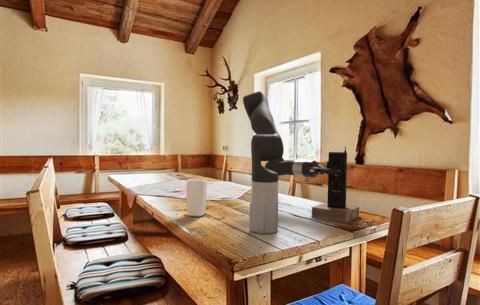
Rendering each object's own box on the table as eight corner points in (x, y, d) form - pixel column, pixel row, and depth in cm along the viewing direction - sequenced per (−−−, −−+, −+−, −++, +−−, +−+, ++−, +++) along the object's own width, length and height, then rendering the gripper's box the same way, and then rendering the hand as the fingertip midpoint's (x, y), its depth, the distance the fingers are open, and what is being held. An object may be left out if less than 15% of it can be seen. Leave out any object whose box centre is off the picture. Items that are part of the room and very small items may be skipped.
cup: (202, 218, 119) (202, 181, 119) (185, 217, 121) (185, 180, 120) (207, 213, 126) (207, 179, 126) (191, 213, 128) (191, 178, 127)
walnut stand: (345, 223, 113) (345, 212, 113) (311, 216, 123) (311, 207, 122) (358, 216, 124) (359, 206, 123) (327, 211, 133) (327, 202, 133)
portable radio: (324, 207, 123) (325, 146, 122) (327, 204, 128) (328, 146, 127) (344, 209, 119) (345, 146, 118) (346, 206, 125) (347, 146, 124)
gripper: (296, 160, 126) (333, 162, 116) (313, 159, 137) (348, 161, 126) (296, 178, 127) (332, 182, 116) (313, 175, 137) (347, 178, 126)
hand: (340, 171), depth 121 cm, fingers open, 8 cm apart
